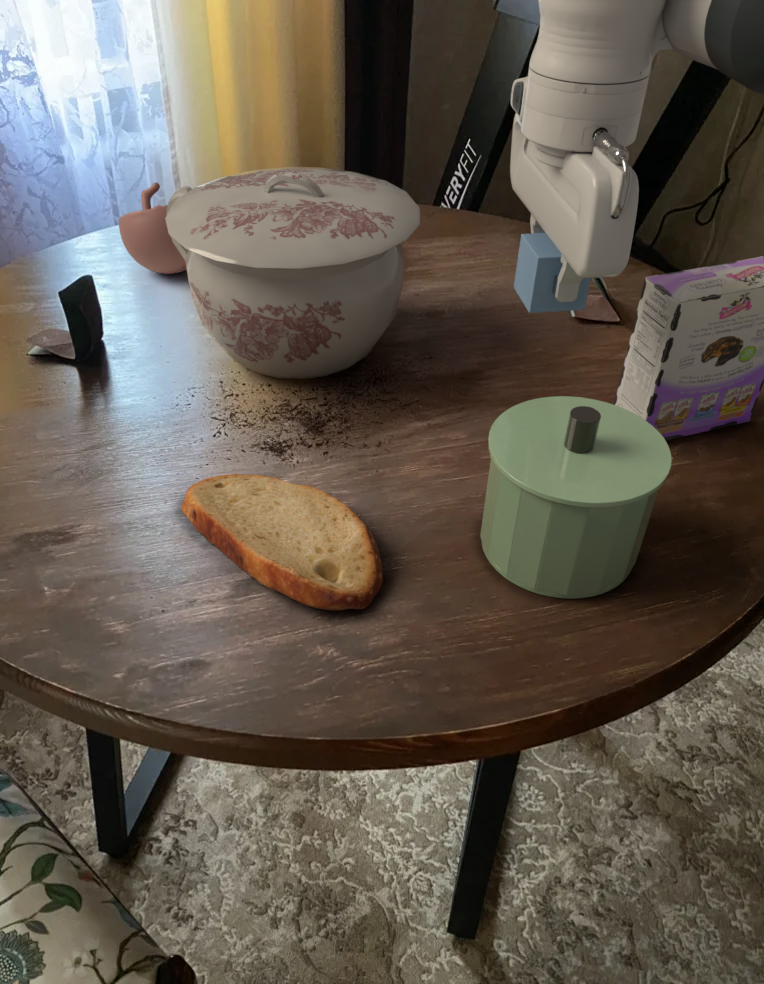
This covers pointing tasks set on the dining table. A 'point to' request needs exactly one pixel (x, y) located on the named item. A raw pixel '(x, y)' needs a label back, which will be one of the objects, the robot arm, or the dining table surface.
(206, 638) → the dining table surface
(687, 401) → the candy box
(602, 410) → the pot lid
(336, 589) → the bread slice
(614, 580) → the pot
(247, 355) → the chamber pot
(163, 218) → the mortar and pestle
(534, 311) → the block
